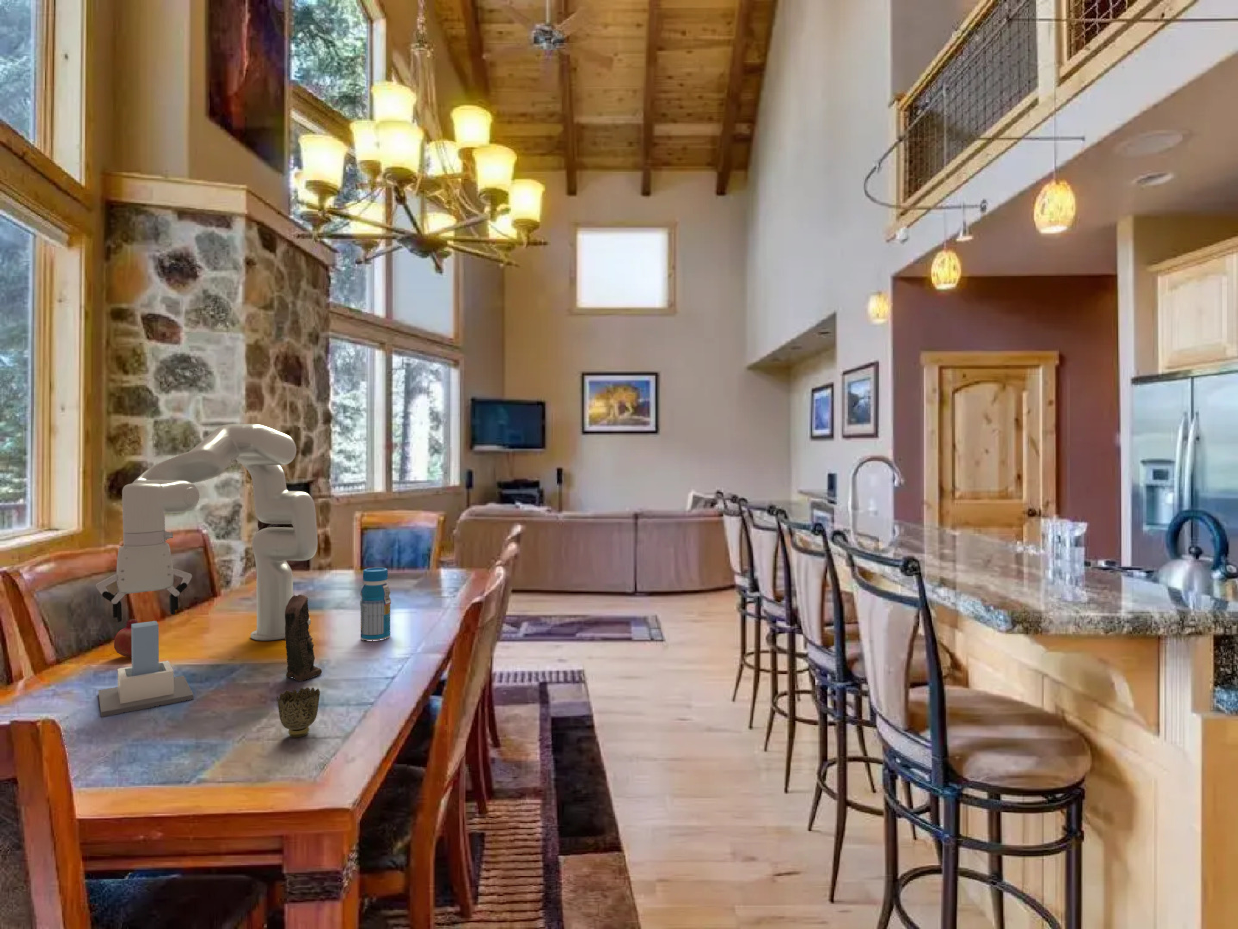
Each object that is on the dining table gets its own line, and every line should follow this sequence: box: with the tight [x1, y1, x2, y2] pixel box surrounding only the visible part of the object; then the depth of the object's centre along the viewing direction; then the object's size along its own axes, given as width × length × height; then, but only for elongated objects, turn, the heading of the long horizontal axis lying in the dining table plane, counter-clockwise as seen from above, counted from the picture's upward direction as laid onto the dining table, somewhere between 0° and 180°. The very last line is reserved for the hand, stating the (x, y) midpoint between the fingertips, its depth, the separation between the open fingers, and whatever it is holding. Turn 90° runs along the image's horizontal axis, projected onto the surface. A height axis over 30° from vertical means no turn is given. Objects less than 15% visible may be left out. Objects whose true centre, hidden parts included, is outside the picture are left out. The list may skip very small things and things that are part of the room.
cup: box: [276, 687, 321, 739], centre depth 130 cm, size 8×7×8 cm
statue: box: [284, 594, 323, 682], centre depth 163 cm, size 7×7×20 cm
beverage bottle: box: [359, 567, 392, 642], centre depth 197 cm, size 8×8×20 cm
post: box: [131, 620, 160, 676], centre depth 150 cm, size 4×4×15 cm
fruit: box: [113, 618, 139, 658], centre depth 178 cm, size 8×8×10 cm
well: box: [97, 660, 194, 718], centre depth 150 cm, size 16×16×6 cm
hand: (146, 617), depth 150 cm, fingers open, 9 cm apart
